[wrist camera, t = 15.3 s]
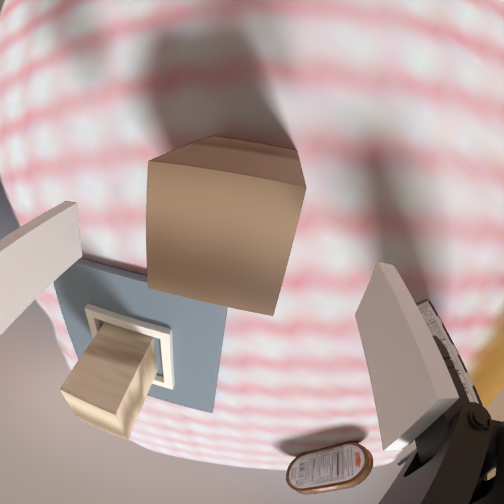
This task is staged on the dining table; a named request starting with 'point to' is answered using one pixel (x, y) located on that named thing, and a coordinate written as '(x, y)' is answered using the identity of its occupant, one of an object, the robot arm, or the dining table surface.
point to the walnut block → (223, 221)
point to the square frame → (140, 327)
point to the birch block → (112, 379)
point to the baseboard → (155, 312)
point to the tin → (330, 469)
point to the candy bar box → (448, 347)
